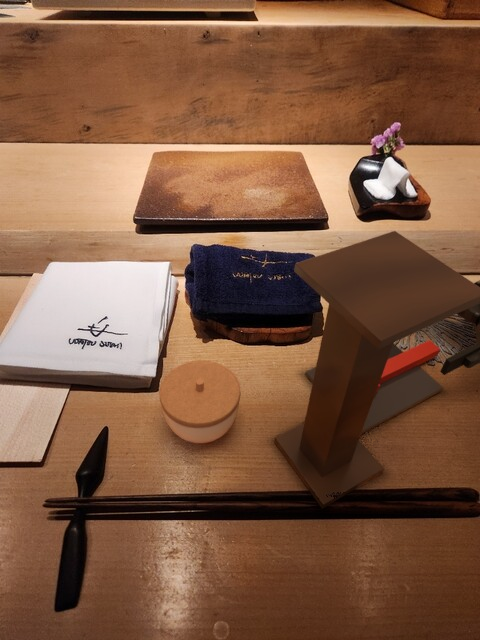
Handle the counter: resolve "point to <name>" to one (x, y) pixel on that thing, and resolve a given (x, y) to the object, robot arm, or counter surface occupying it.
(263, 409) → the counter surface
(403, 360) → the red block
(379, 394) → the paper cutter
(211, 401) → the trinket box
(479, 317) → the robot arm
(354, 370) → the pedestal stand
